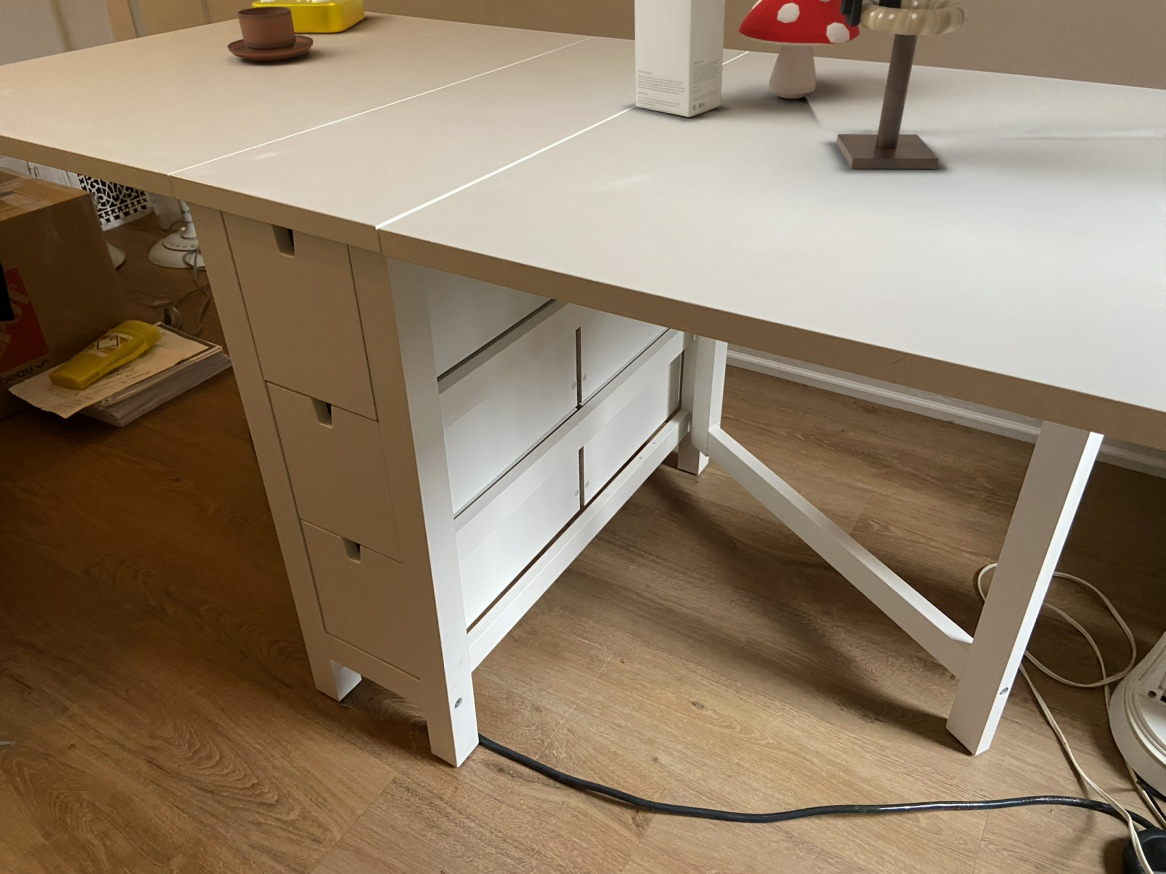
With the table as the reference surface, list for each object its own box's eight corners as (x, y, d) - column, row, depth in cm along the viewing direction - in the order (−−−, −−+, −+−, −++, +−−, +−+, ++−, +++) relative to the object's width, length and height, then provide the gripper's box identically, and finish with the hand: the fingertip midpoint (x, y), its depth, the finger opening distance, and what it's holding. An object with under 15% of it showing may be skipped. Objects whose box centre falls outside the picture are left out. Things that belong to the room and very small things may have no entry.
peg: (915, 143, 90) (941, 15, 83) (936, 169, 83) (966, 32, 76) (836, 143, 90) (855, 16, 83) (851, 168, 83) (873, 32, 77)
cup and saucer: (216, 57, 129) (205, 11, 125) (291, 45, 135) (283, 1, 132) (252, 70, 121) (242, 21, 118) (330, 56, 128) (322, 10, 124)
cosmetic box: (721, 108, 102) (732, -44, 93) (686, 120, 98) (694, -38, 89) (665, 96, 107) (671, -50, 98) (630, 107, 103) (632, -44, 94)
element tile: (368, 17, 154) (364, -14, 152) (341, 33, 142) (336, 1, 139) (286, 16, 156) (280, -14, 153) (252, 33, 144) (245, 1, 141)
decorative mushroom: (747, 79, 113) (758, -54, 104) (856, 87, 109) (878, -50, 100) (721, 106, 102) (732, -39, 94) (841, 116, 98) (864, -34, 90)
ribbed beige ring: (946, 16, 83) (951, -7, 82) (977, 37, 76) (983, 11, 74) (844, 16, 84) (847, -7, 83) (864, 37, 76) (869, 12, 75)
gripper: (994, -230, 72) (945, 15, 82) (796, -225, 73) (773, 17, 83) (1027, -236, 66) (969, 31, 76) (810, -230, 67) (783, 33, 77)
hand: (867, 22), depth 80 cm, fingers closed on ribbed beige ring, 2 cm apart
